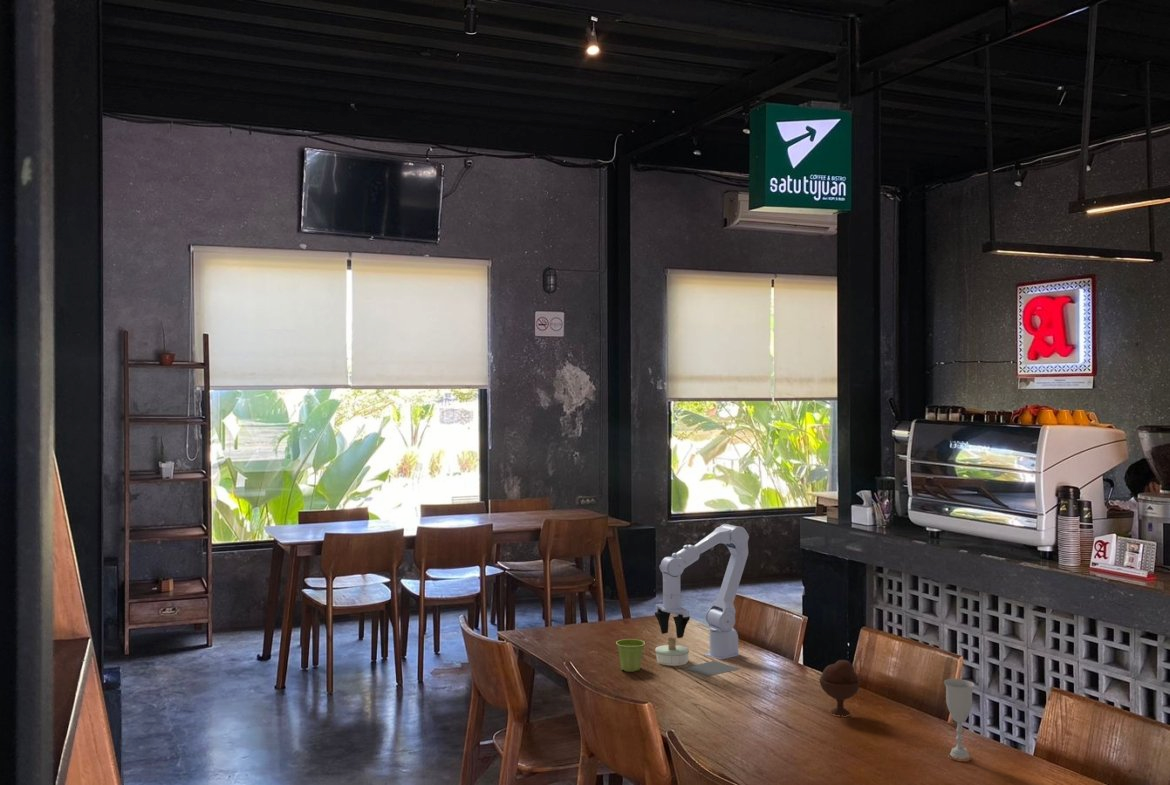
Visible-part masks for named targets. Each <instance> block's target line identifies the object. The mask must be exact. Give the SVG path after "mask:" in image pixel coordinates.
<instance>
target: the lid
mask: <svg viewBox="0 0 1170 785" xmlns="http://www.w3.org/2000/svg"><path fill="white" fill-rule="evenodd" d="M676 638H677V637H668V639H667V641H668V644H666V645H665V644H663V645H659V646H657V647H655V653H657V654H660V655H666V656H680V655H685V654H688V655H689V652H690V649H689V647H686V646H684V645H679V644H678V645H677V644H676V642H677V640H676Z"/></svg>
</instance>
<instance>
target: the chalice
mask: <svg viewBox="0 0 1170 785" xmlns="http://www.w3.org/2000/svg"><path fill="white" fill-rule="evenodd" d="M943 684H944V686H945V694H946V695H945V699H946V700H945V702H946V706H947V709H948V712H949V713H950V716H951V718H952V720H953V721H954V722H956V725H957V726H956V730H955V731H956V733H957V735H956V736H955V738H956V740H957V744H956V745H955V746H953V747H952V748H951V751H950V753H949V755H951V756H952V757H954V758H959V759H965V758H969V757H970V754H969V750H967V748H965V747H964V746H963V745H962V744H963V743H962V742H963V740H964V737H963V736H962V732H964V730H963V728H962V724H963V723H966V721H967V719H968V718H969V715H970V713H971V710H972V707H973V689H974V687H975V683H974V682H972V681H970V680H965V679H962V678H961V679H960V678H947V679H945V680H944V681H943Z"/></svg>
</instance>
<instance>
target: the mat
mask: <svg viewBox="0 0 1170 785" xmlns="http://www.w3.org/2000/svg"><path fill="white" fill-rule="evenodd" d="M682 670H686V671H689V672H692V673H695V674H699V675H702V676H705V677H711V676H717V675H721V674H724V673H729V672H732V671H737V670H740V667H739V668H738V667H735V666H733V665H729V664H726V663H723V662H719V661H715V660H711V661H707V662H703V663H698V664H695V665H689V666H685V667H682Z"/></svg>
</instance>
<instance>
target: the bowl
mask: <svg viewBox="0 0 1170 785" xmlns="http://www.w3.org/2000/svg"><path fill="white" fill-rule="evenodd" d="M655 653H656V652H655ZM655 655H656V662H657V663H658V664H660V665H663V666H673V667H674V666H675V667H676V666H677V667H678V666H683V665H686V664H687V663H688V662H689V653H688V654H685V655H680V656H666V655H660V654H657V653H656V654H655Z"/></svg>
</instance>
